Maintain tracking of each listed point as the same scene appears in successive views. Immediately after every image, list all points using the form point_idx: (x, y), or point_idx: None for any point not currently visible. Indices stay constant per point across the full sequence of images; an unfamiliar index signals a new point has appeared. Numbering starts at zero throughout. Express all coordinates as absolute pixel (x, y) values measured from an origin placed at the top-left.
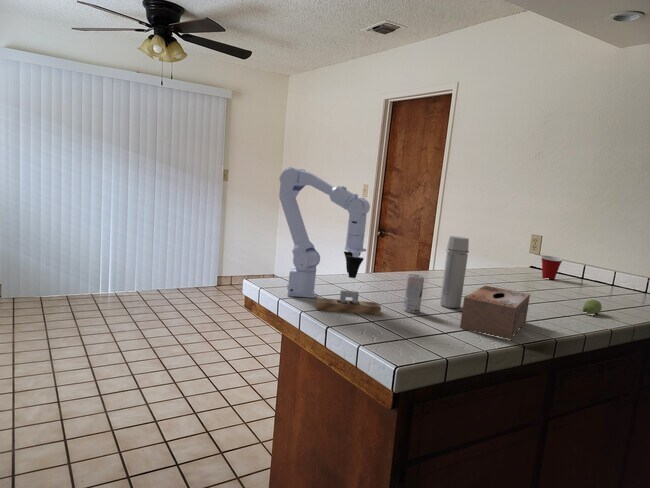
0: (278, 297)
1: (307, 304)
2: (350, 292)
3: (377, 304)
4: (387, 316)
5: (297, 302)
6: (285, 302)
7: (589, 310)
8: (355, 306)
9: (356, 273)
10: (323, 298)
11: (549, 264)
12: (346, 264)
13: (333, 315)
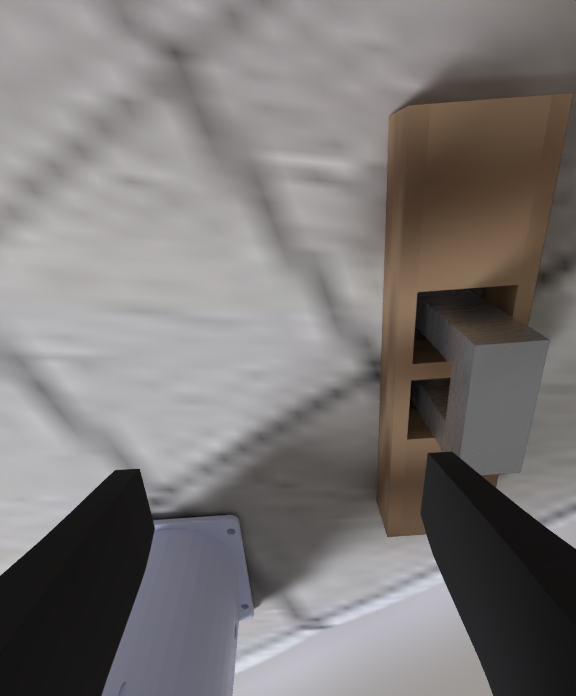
0: (291, 633)
1: (371, 534)
2: (522, 408)
3: (476, 120)
4: (559, 32)
5: (349, 570)
6: (366, 606)
7: None
8: (521, 319)
9: (498, 494)
10: (394, 507)
11: None
12: (106, 660)
13: (556, 420)
